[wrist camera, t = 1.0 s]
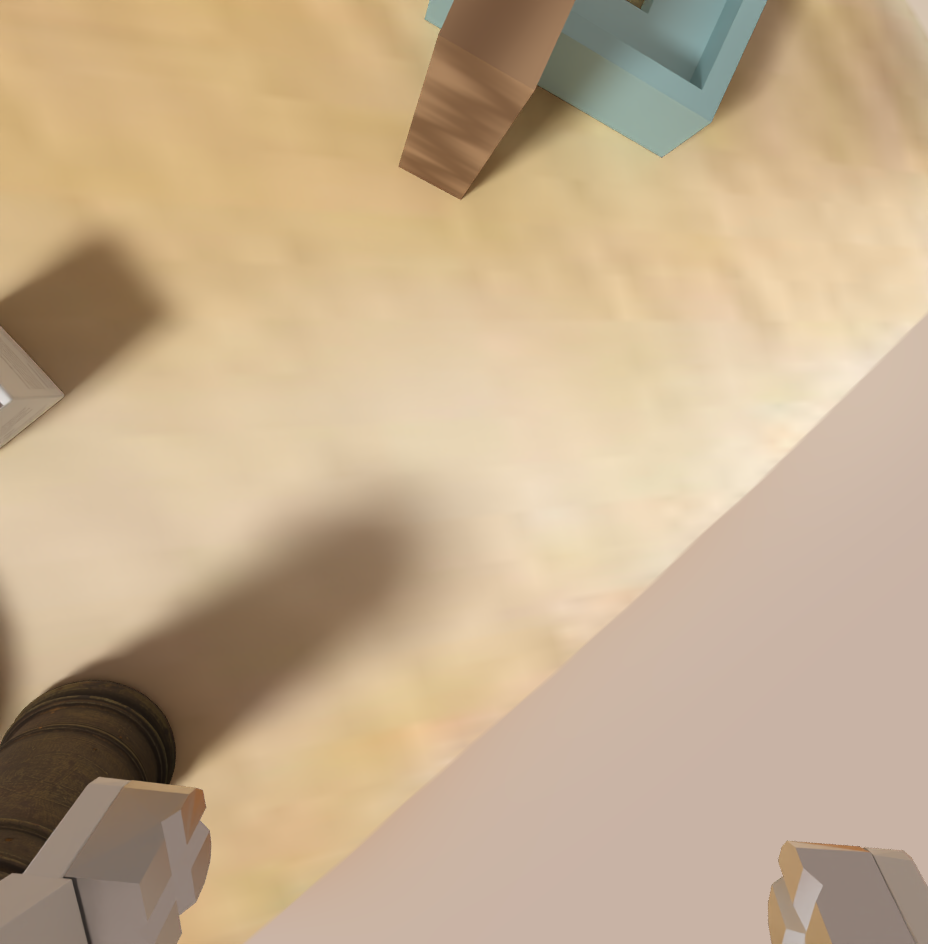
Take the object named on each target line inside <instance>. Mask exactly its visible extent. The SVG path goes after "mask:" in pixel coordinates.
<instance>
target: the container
mask: <svg viewBox="0 0 928 944" xmlns="http://www.w3.org/2000/svg"><path fill="white" fill-rule="evenodd" d="M175 758H176V751H175V742H174V737H173V733H172V730H171V728H170V725H169V723H168V721H167V719H166V717H165V716H164V715H163V713H162V712H161V710H160V709H159V708H158V707H157V706H156V705H155V704H154V703H153V702H152V701H151V700H150V699H148V698H147V697H146V696H144V695H143V694H141V693H140V692H138V691H136V690H134V689H132V688H130V687H127V686H125V685H121V684H118V683H114V682H108V681H97V680H93V681H81V682H76V683H71V684H67V685H64V686H61V687H58V688H55V689H53V690H51V691H49V692H46V693H45V694H43V695H41V696H39V697H38V698H36V699H35V700H34V701H32V702H31V703H30V704H29V705H28V706H27V707H25V708H24V709H23V711H22V712H21V713H20V714H19V715H18V717H17V718H16V720H15V721H14V723H13V724H12V725H11V727H10V728H9V729H8V731H7V732H6V734H5V736H4V738H3V740H2V742H1V744H0V880H2V879H4V878H5V877H7V876H9V875H10V874H12V873H16V874H23V873H24V871H25V870H26V869H27V867H28V866H29V864H30V863H31V862H32V860H33V859H34V858H35V856H36V855H37V853H38V852H39V851H40V849H41V848H42V847H43V845H44V844H45V843H46V841H47V840H48V838H49V837H50V836H51V834H52V833H53V832H54V830H55V829H56V827H57V826H58V825H59V823H60V822H61V821H62V819H63V818H64V817H65V815H66V814H67V812H68V811H69V810H70V808H71V807H72V806H73V804H74V803H75V801H76V800H77V799H78V797H79V796H80V795H81V793H82V792H83V790H84V789H85V788H86V786H87V785H88V784H89V783H91V782H92V781H94V780H95V779H97V778H98V777H104V778H113V779H122V780H131V781H132V780H135V781H143V782H152V783H160V784H168V785H169V783H170V781H171V778H172V775H173V772H174V767H175Z"/></svg>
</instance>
